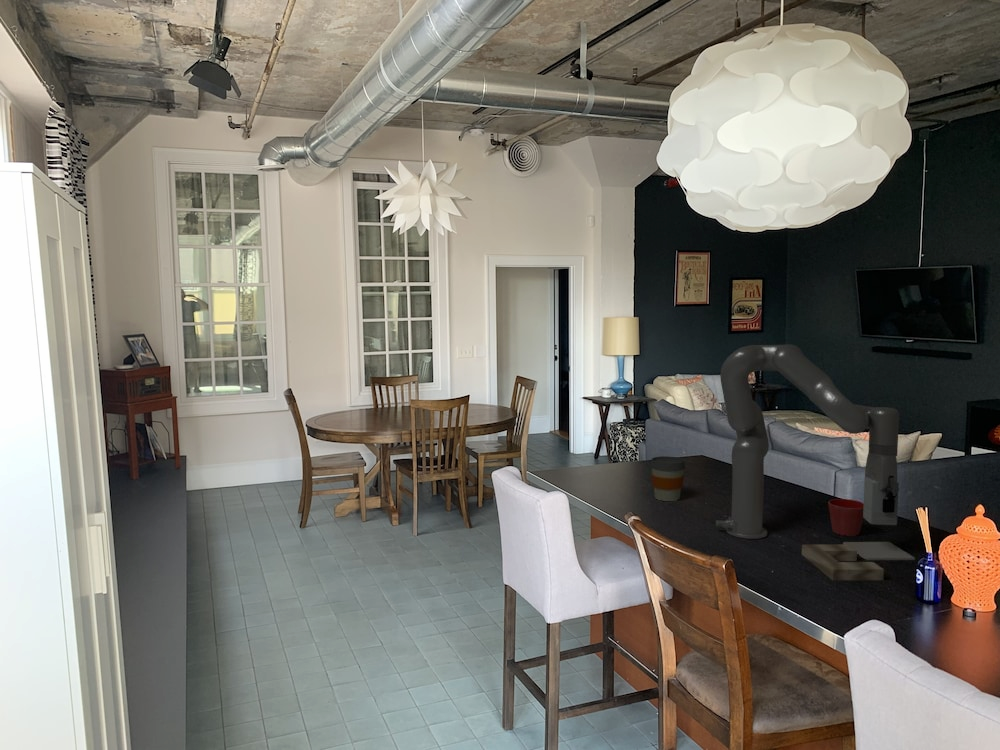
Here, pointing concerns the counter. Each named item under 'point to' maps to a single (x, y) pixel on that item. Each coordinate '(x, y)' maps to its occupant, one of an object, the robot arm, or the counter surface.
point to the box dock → (829, 565)
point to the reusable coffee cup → (667, 477)
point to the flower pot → (846, 516)
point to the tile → (879, 551)
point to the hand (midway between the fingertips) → (880, 507)
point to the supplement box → (877, 504)
